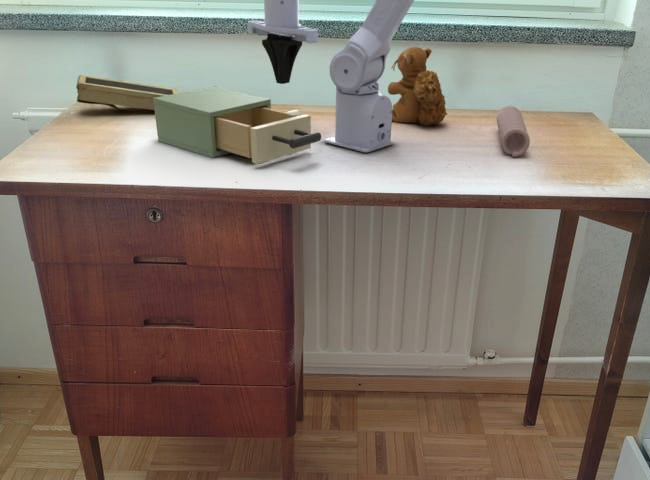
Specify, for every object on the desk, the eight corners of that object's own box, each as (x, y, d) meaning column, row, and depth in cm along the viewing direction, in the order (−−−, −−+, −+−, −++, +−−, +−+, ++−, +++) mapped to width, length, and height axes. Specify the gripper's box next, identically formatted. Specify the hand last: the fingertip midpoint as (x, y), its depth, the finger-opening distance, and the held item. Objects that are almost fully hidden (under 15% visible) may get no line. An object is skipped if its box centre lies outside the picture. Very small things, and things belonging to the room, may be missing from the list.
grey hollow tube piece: (533, 132, 114) (524, 107, 129) (505, 127, 114) (499, 103, 129) (525, 159, 116) (517, 132, 131) (498, 155, 117) (493, 128, 132)
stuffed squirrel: (416, 110, 143) (421, 41, 136) (460, 126, 133) (468, 53, 126) (376, 116, 138) (380, 44, 131) (419, 132, 128) (426, 56, 121)
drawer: (334, 154, 112) (334, 121, 109) (281, 171, 104) (280, 135, 101) (255, 133, 121) (254, 102, 118) (201, 147, 113) (198, 114, 110)
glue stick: (291, 124, 130) (291, 108, 129) (303, 127, 129) (303, 110, 127) (263, 132, 125) (262, 115, 124) (274, 135, 124) (274, 117, 122)
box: (77, 100, 135) (77, 73, 133) (193, 115, 143) (195, 90, 141) (76, 110, 129) (76, 83, 126) (197, 126, 137) (199, 100, 134)
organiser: (272, 141, 120) (270, 99, 116) (213, 157, 111) (209, 112, 107) (217, 126, 127) (214, 86, 124) (158, 140, 118) (152, 97, 115)
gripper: (330, -2, 113) (329, 85, 120) (266, -9, 120) (269, 73, 128) (301, 1, 108) (302, 91, 115) (237, -7, 115) (241, 78, 123)
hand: (283, 82), depth 121 cm, fingers closed
